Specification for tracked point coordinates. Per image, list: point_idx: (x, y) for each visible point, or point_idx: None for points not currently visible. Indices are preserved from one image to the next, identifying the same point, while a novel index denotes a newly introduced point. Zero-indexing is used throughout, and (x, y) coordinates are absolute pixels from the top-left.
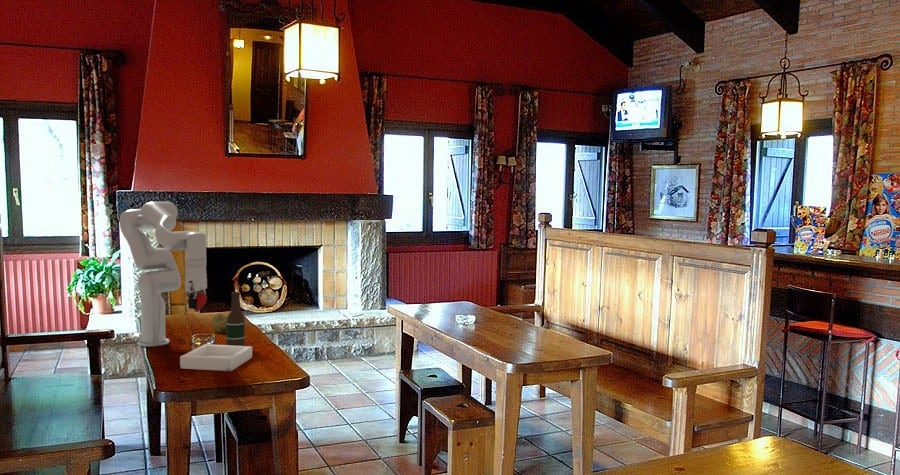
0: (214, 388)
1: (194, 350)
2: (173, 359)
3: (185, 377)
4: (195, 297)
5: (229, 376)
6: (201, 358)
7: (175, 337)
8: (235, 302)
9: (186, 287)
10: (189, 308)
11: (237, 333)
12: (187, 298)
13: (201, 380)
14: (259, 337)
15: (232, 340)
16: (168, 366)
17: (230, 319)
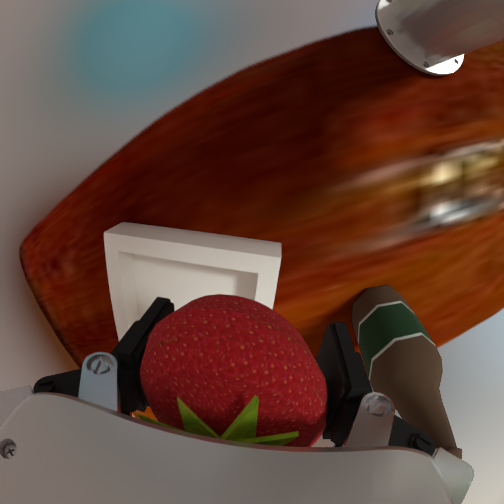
0: (52, 325)
1: (180, 250)
2: (213, 155)
3: (72, 262)
4: (128, 413)
5: (105, 342)
6: (111, 294)
7: (491, 90)
8: None
9: (10, 435)
10: (159, 300)
11: (362, 354)
12: (180, 321)
13: (69, 298)
14: (468, 328)
15: (357, 325)
16: (134, 178)
17: (382, 372)
